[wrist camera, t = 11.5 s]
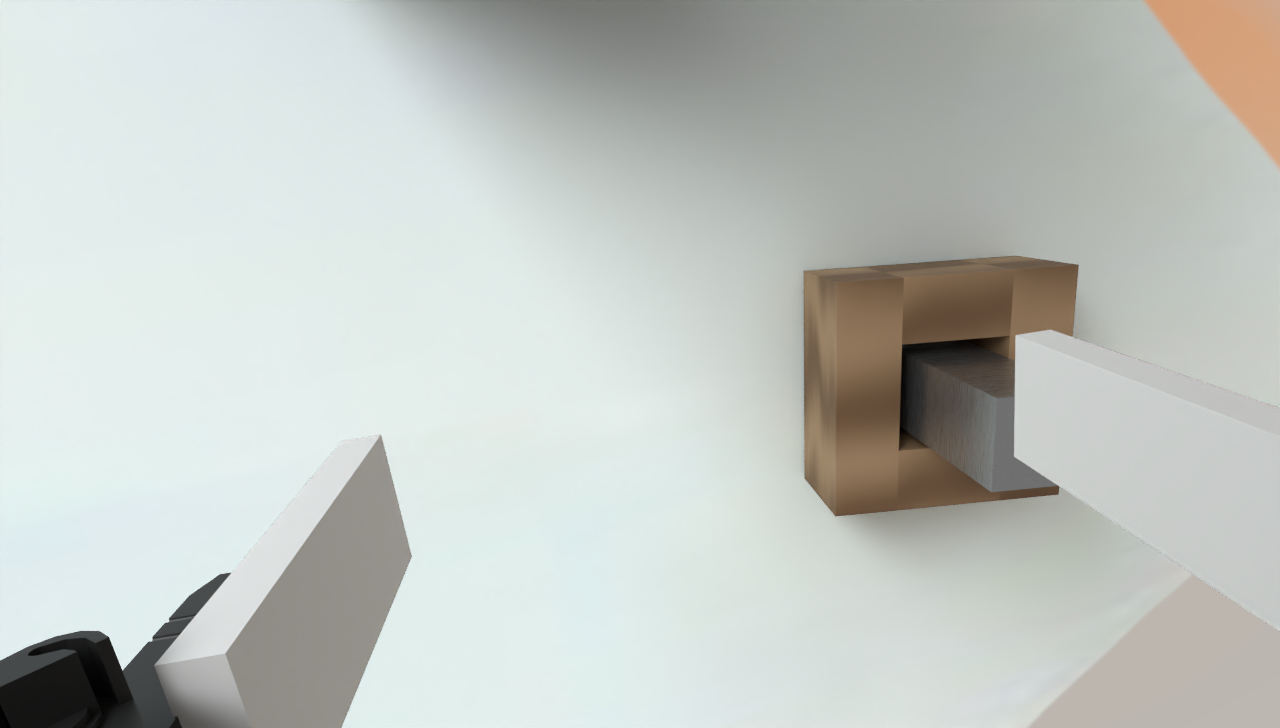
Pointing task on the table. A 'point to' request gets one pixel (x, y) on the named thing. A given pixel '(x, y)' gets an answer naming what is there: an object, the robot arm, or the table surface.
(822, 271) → the brown square hole block
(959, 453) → the metal peg
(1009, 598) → the table surface
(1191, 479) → the robot arm
